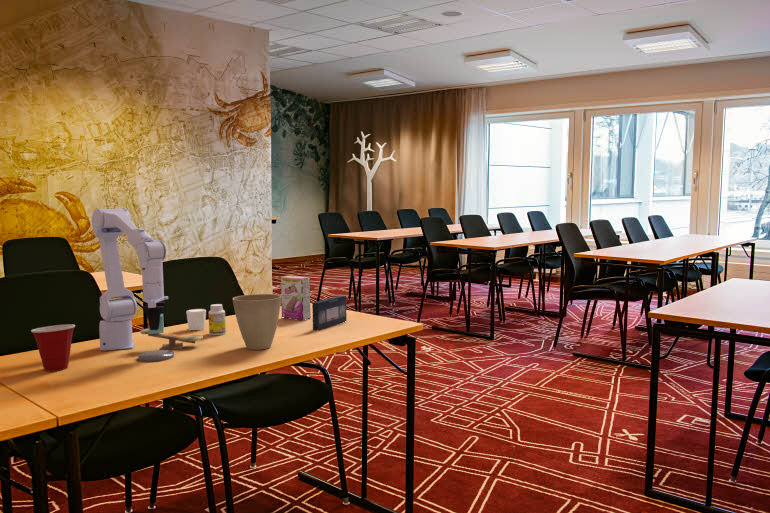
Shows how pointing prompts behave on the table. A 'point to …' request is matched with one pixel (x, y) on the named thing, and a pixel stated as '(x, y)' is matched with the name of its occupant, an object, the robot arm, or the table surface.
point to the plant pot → (257, 318)
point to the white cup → (196, 319)
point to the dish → (156, 355)
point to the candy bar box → (295, 297)
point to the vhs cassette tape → (329, 312)
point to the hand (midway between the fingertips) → (155, 328)
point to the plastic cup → (54, 345)
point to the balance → (174, 339)
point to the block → (161, 327)
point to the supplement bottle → (217, 320)
